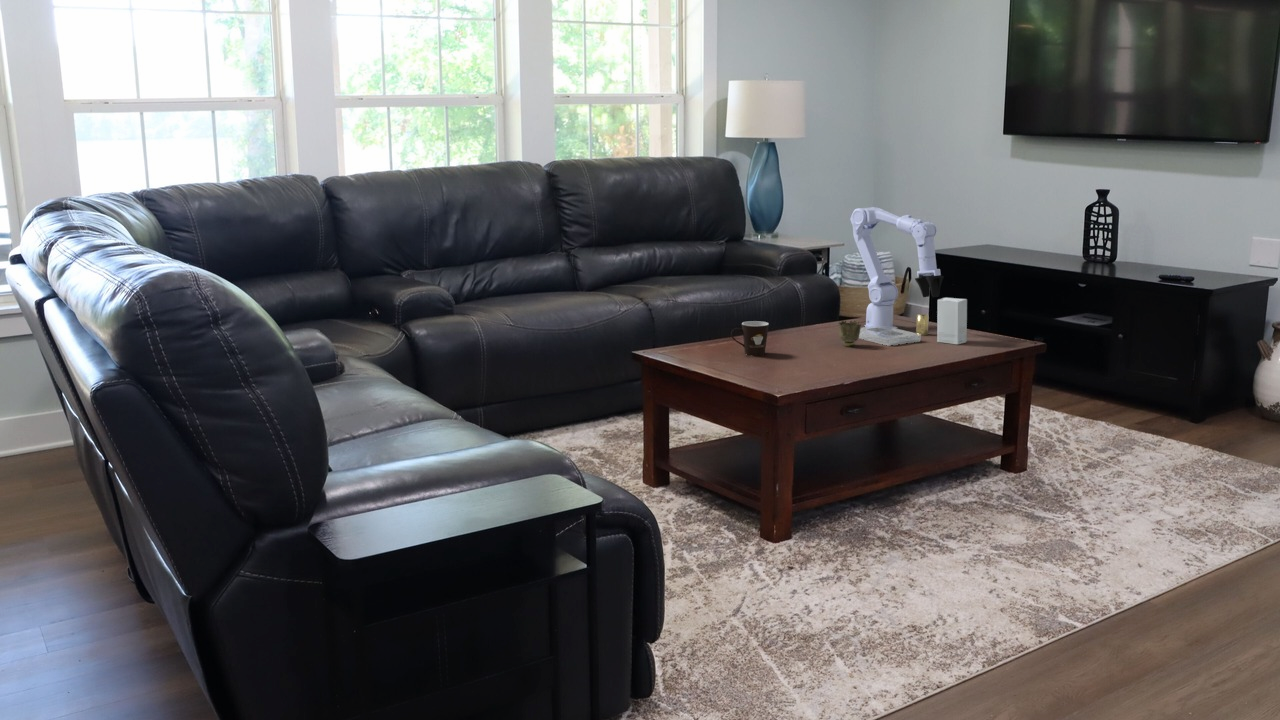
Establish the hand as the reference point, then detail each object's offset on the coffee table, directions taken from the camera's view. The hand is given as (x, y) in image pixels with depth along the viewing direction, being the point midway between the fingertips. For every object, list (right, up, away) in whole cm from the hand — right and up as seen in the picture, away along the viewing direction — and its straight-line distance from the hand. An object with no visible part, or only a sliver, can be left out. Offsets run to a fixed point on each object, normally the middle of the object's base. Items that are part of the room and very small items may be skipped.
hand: (931, 297), depth 376 cm
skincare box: (+5, -16, -7) cm, 18 cm away
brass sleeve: (-1, -13, +6) cm, 14 cm away
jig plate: (-16, -14, 0) cm, 22 cm away
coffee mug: (-64, -20, -22) cm, 71 cm away
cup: (-30, -17, -11) cm, 37 cm away
